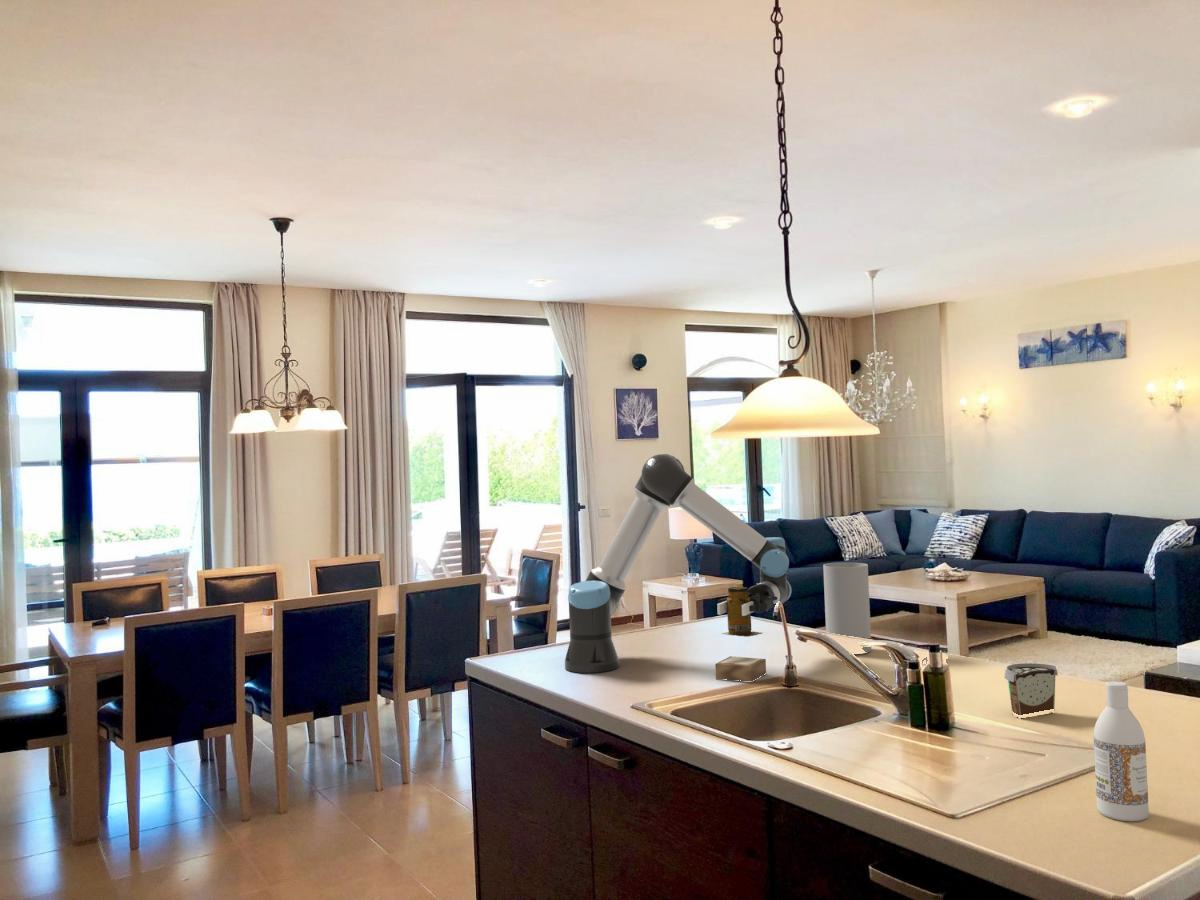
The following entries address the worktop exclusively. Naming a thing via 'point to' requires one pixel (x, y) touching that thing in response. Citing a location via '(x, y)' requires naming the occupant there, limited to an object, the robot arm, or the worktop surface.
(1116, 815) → the bath foam
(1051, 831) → the worktop surface
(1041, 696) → the food container
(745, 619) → the condiment
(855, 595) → the cylinder vase
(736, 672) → the plinth
